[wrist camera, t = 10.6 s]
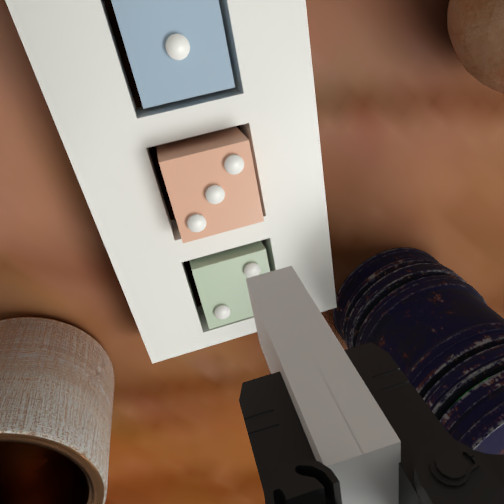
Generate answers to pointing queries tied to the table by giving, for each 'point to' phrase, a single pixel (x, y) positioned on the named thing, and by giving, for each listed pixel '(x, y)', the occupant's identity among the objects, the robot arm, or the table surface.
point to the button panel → (180, 127)
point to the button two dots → (228, 282)
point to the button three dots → (211, 183)
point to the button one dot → (174, 48)
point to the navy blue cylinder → (432, 339)
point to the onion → (479, 38)
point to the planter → (53, 413)
